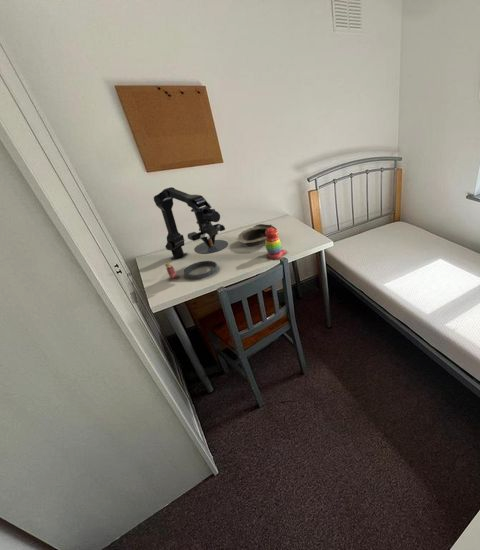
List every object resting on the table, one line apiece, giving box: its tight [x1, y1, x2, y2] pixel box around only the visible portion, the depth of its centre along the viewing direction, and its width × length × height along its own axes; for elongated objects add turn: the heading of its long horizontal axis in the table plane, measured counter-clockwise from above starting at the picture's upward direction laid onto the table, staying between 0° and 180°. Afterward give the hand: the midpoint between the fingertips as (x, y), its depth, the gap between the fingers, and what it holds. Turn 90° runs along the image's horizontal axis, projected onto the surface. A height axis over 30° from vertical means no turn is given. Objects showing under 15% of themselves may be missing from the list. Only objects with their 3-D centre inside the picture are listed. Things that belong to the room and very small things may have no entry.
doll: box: [164, 261, 179, 281], centre depth 156 cm, size 4×4×10 cm
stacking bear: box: [264, 227, 287, 260], centre depth 176 cm, size 11×10×18 cm
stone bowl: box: [237, 223, 278, 247], centre depth 195 cm, size 25×25×9 cm
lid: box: [193, 237, 229, 255], centre depth 165 cm, size 18×18×6 cm
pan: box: [183, 260, 219, 281], centre depth 163 cm, size 17×17×3 cm
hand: (211, 245), depth 165 cm, fingers closed on lid, 2 cm apart
